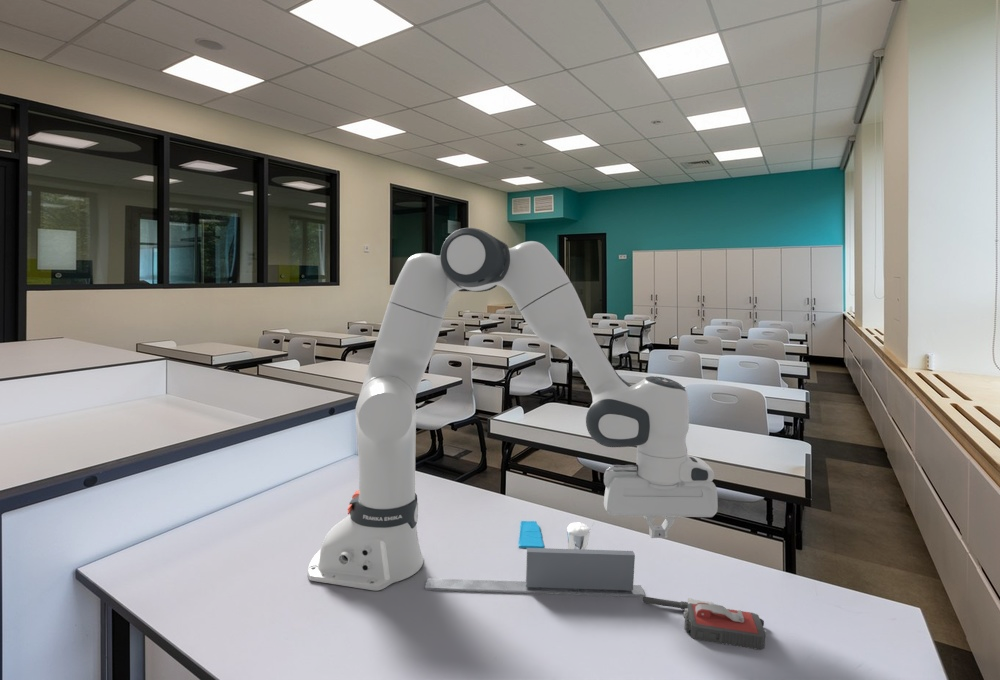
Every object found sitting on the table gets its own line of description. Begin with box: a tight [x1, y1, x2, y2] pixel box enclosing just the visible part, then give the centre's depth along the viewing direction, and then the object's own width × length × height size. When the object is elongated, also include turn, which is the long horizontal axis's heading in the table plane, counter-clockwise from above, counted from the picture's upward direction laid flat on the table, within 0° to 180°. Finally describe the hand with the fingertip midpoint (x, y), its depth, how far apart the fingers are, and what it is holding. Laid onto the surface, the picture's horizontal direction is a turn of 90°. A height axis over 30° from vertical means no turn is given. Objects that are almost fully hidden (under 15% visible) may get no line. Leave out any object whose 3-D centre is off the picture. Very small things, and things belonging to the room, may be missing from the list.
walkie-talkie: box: [641, 596, 766, 651], centre depth 90 cm, size 9×4×20 cm
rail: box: [424, 578, 646, 598], centre depth 99 cm, size 41×3×1 cm, turn 89°
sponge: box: [518, 520, 545, 549], centre depth 120 cm, size 2×12×6 cm
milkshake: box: [566, 521, 595, 550], centre depth 106 cm, size 5×5×10 cm
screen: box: [525, 547, 636, 590], centre depth 99 cm, size 20×2×7 cm, turn 89°
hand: (658, 536), depth 98 cm, fingers closed
